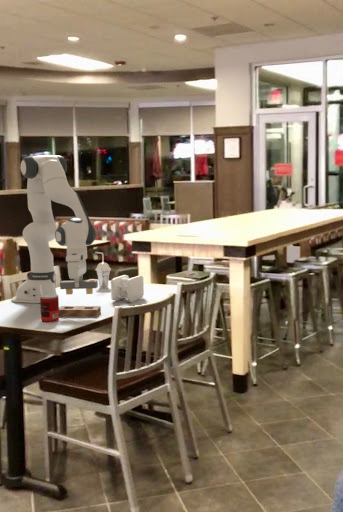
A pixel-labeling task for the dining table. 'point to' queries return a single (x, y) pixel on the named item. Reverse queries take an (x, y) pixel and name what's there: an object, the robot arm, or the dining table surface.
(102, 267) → the cup with straw
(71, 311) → the wooden tray
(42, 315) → the canned food
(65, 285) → the gray bar with feet
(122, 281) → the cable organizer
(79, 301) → the dining table surface
